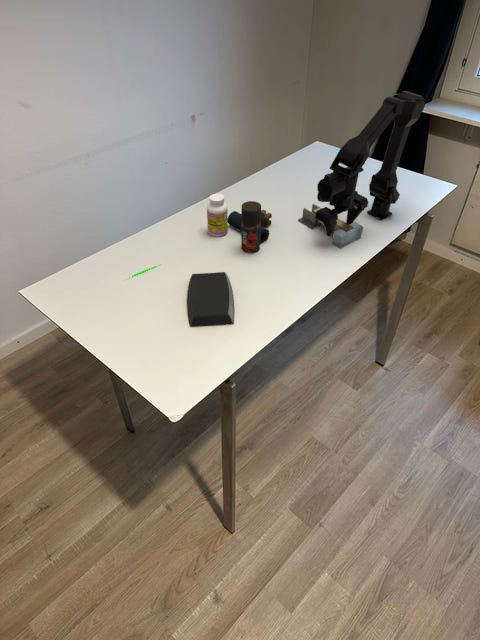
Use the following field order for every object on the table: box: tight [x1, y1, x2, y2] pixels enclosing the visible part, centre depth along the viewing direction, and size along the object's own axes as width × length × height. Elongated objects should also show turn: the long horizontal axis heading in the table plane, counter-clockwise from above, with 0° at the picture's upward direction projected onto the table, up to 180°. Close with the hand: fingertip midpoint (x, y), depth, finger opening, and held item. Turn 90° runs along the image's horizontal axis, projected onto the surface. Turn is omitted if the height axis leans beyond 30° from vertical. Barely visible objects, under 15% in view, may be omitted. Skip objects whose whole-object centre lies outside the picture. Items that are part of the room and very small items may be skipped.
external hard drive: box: [186, 271, 236, 328], centre depth 123 cm, size 13×19×4 cm
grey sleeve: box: [297, 203, 323, 230], centre depth 152 cm, size 8×7×4 cm
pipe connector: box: [227, 209, 273, 244], centre depth 148 cm, size 12×5×15 cm
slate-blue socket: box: [331, 221, 364, 250], centre depth 143 cm, size 10×4×4 cm, turn 128°
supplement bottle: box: [206, 193, 229, 238], centre depth 144 cm, size 7×7×13 cm
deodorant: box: [240, 200, 262, 254], centre depth 137 cm, size 6×6×15 cm
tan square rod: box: [313, 207, 353, 233], centre depth 147 cm, size 3×15×3 cm, turn 38°
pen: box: [129, 264, 160, 279], centre depth 133 cm, size 1×14×1 cm, turn 127°
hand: (338, 231), depth 146 cm, fingers open, 9 cm apart
